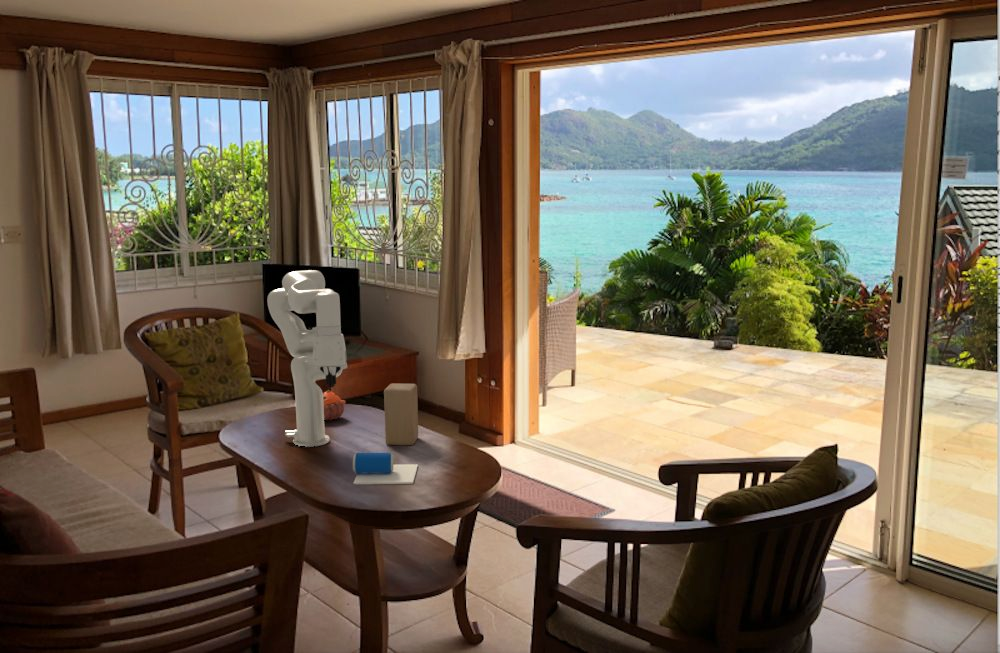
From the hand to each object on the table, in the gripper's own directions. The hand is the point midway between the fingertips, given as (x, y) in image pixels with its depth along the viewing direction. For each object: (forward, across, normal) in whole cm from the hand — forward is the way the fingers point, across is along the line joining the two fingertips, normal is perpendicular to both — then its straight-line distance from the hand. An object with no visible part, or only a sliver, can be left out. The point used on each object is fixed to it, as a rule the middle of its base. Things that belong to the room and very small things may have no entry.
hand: (331, 386), depth 270 cm
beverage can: (+21, +9, -14) cm, 27 cm away
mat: (+25, +19, -14) cm, 34 cm away
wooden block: (+25, +20, +20) cm, 38 cm away
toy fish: (+25, -11, +48) cm, 55 cm away
